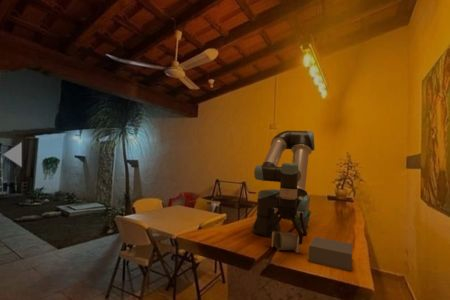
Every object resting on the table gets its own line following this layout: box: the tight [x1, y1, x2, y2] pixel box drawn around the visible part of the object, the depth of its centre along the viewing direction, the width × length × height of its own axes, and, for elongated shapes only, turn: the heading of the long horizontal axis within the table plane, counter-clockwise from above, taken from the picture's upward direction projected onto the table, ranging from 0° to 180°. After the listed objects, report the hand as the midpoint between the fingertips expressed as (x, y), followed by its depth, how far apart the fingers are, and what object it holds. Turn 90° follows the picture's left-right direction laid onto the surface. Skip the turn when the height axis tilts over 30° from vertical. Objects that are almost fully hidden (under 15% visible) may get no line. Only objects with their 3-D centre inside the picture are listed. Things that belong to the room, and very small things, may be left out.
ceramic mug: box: [274, 231, 298, 251], centre depth 112 cm, size 11×8×8 cm
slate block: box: [308, 236, 353, 272], centre depth 102 cm, size 15×15×6 cm
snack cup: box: [295, 209, 312, 229], centre depth 154 cm, size 16×10×10 cm
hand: (285, 248), depth 110 cm, fingers closed on ceramic mug, 10 cm apart
